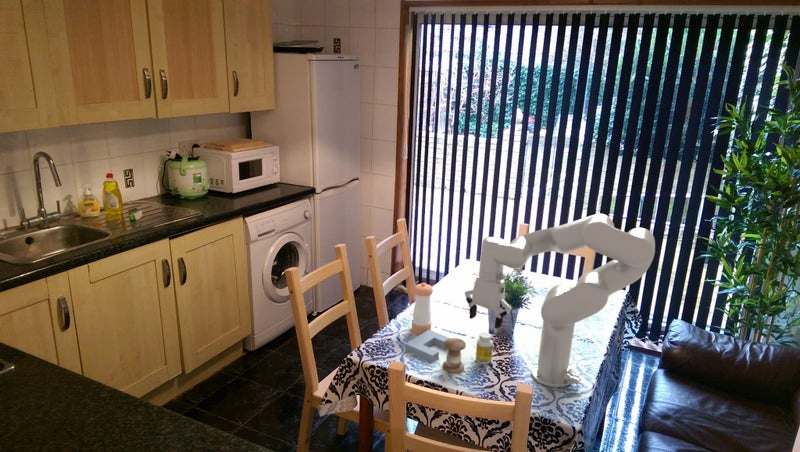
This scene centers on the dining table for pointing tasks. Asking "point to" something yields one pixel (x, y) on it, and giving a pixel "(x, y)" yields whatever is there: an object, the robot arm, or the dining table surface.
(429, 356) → the gray u-shaped block
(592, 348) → the dining table surface
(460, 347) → the bobbin
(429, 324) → the pepper shaker
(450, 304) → the dining table surface
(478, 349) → the supplement bottle
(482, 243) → the robot arm
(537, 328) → the dining table surface
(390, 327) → the dining table surface
